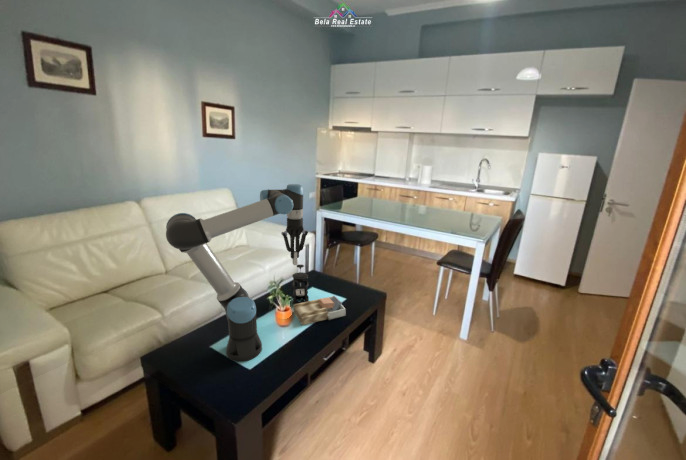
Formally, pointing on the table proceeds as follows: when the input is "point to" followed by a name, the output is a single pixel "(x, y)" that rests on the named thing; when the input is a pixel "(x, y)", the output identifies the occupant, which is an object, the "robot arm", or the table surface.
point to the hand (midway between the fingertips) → (294, 264)
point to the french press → (299, 291)
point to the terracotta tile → (326, 303)
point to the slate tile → (336, 303)
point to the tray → (336, 314)
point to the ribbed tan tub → (310, 312)
